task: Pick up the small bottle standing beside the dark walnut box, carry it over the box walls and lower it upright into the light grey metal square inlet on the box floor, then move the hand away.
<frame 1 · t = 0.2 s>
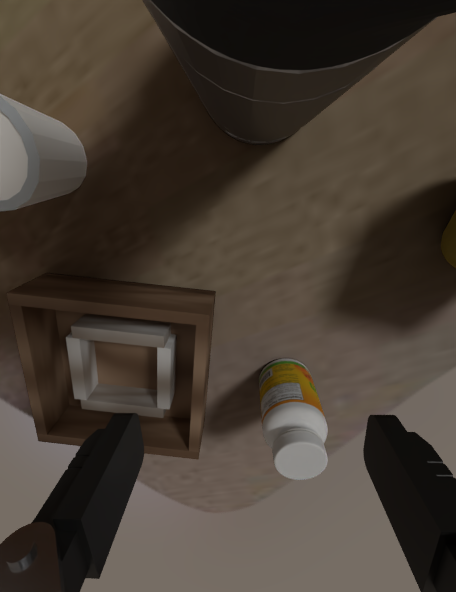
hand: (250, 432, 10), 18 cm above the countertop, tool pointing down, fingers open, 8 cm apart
supplement bottle: (284, 377, 31), on the countertop
walled box: (133, 353, 30), on the countertop
white cup: (54, 158, 24), on the countertop
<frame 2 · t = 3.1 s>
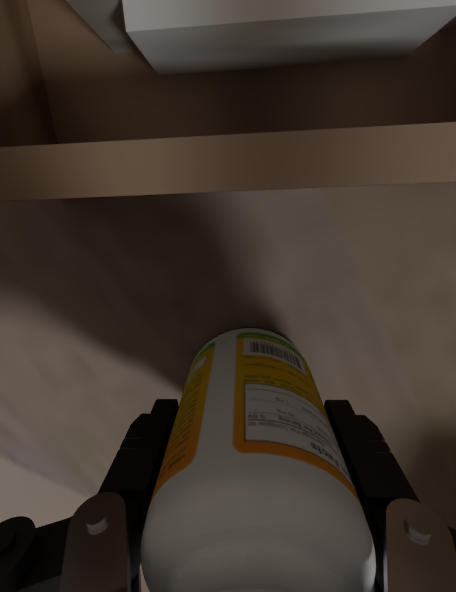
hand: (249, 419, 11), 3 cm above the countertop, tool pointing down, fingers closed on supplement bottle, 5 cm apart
supplement bottle: (249, 375, 13), on the countertop, touching gripper
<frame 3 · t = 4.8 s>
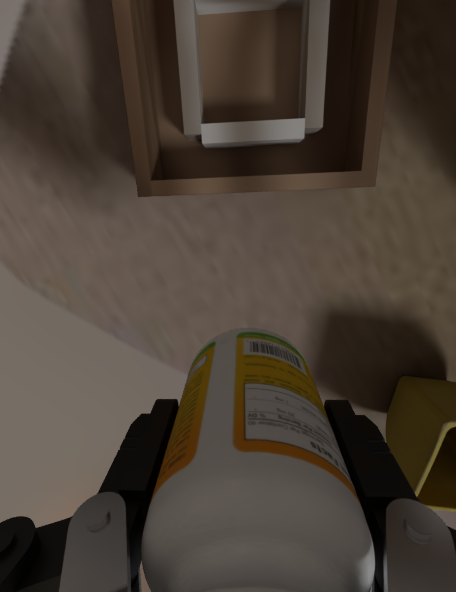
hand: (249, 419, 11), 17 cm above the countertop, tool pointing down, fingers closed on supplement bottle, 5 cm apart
supplement bottle: (249, 375, 13), point 15 cm above the countertop, touching gripper
walled box: (249, 78, 22), on the countertop
flower pot: (415, 395, 31), on the countertop
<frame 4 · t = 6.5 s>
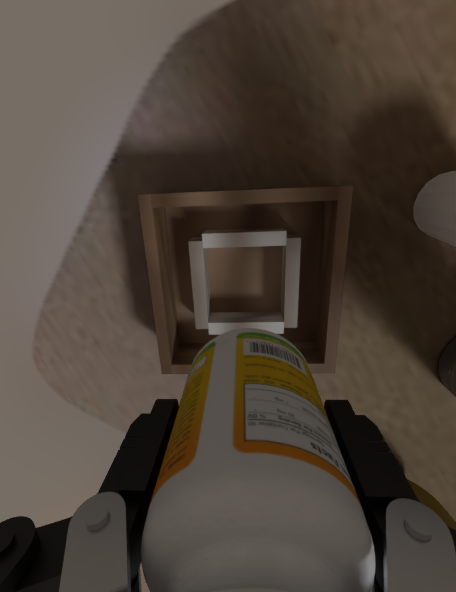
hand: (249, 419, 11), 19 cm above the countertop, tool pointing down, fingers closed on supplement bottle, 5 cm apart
supplement bottle: (249, 375, 13), point 17 cm above the countertop, touching gripper
walled box: (244, 275, 29), on the countertop
flower pot: (379, 485, 38), on the countertop
white cup: (444, 205, 26), on the countertop
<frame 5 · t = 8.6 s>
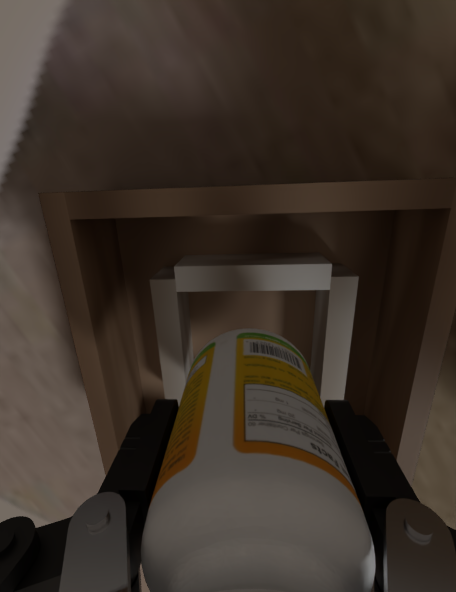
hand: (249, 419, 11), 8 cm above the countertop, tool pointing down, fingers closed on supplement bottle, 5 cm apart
supplement bottle: (249, 376, 13), point 5 cm above the countertop, touching gripper
walled box: (251, 326, 18), on the countertop
when the fingers open (4 cm above the countertop, at t = 10.2 s): supplement bottle stays where it is, resting on walled box.
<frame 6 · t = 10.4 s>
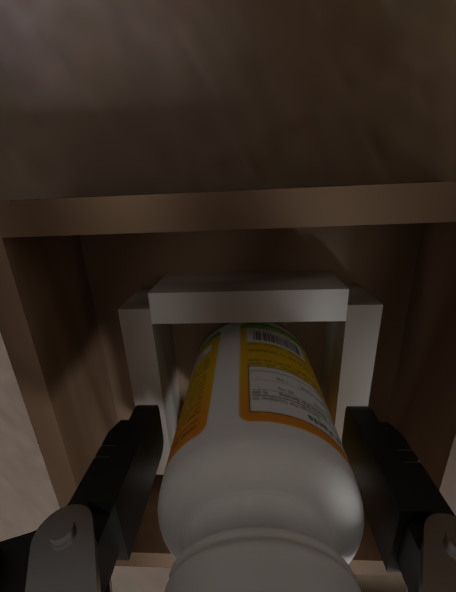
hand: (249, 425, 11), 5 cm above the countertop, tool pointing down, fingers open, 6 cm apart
supplement bottle: (251, 364, 14), point 1 cm above the countertop, touching walled box
walled box: (247, 355, 15), on the countertop
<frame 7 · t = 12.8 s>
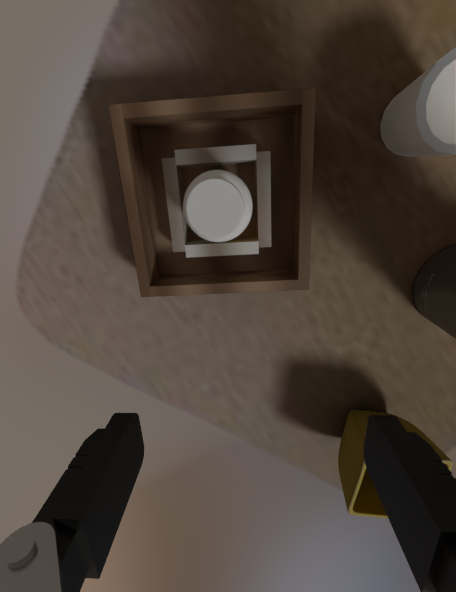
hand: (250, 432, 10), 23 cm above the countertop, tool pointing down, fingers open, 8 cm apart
supplement bottle: (222, 203, 29), point 1 cm above the countertop, touching walled box
walled box: (221, 203, 30), on the countertop
flower pot: (363, 423, 39), on the countertop
white cup: (410, 123, 27), on the countertop
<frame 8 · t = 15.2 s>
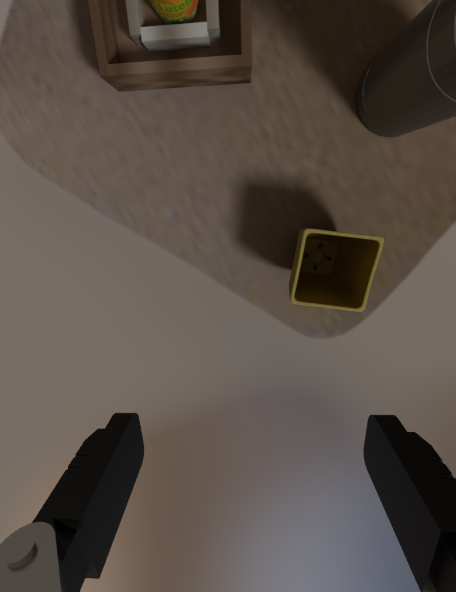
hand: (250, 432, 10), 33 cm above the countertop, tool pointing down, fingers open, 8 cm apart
walled box: (177, 1, 32), on the countertop
flower pot: (316, 255, 41), on the countertop
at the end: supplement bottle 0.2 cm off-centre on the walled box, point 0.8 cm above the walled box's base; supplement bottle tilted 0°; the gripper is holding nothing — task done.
